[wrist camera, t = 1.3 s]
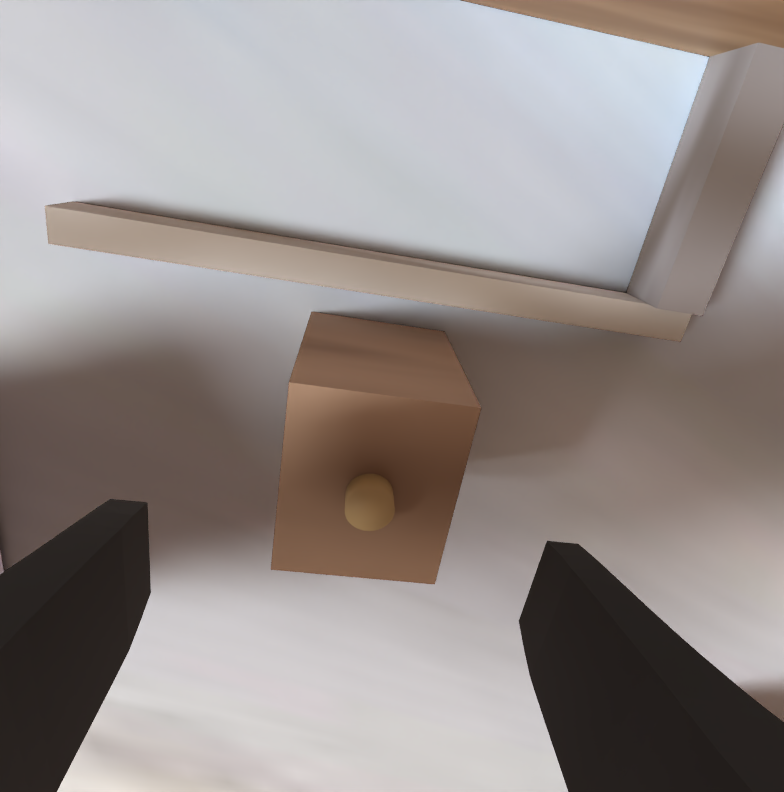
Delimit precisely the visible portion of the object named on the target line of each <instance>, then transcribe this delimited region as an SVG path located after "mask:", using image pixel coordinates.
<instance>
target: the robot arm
mask: <svg viewBox="0 0 784 792" xmlns="http://www.w3.org/2000/svg"><path fill="white" fill-rule="evenodd" d="M150 593H151V589H150V561H149V534H148V507H147V503H146V502H135V501H125V500H114V499H110V500H108V501H107V502H105V503H104V504H102V505H101V506H99V507H98V508H96V509H95V510H93V511H92V512H90V513H89V514H88V515H86V516H85V517H83V518H82V519H80V520H79V521H78V522H76V523H75V524H73V525H72V526H70V527H69V528H67V529H66V530H65V531H63V532H62V533H60V534H59V535H57V536H56V537H55V538H53V539H52V540H50V541H49V542H47V543H46V544H44V545H43V546H41V547H40V548H39V549H37V550H36V551H34V552H33V553H31V554H30V555H28V556H27V557H25V558H24V559H22V560H21V561H19V562H18V563H16V564H15V565H13V566H12V567H10V568H9V569H7V570H6V571H4V570H3V564H2V558H1V552H0V792H57V790H58V788H59V786H60V784H61V782H62V780H63V778H64V776H65V775H66V773H67V771H68V769H69V767H70V765H71V763H72V761H73V759H74V757H75V755H76V753H77V751H78V749H79V747H80V745H81V744H82V742H83V740H84V738H85V736H86V734H87V732H88V730H89V728H90V726H91V724H92V722H93V720H94V718H95V716H96V714H97V712H98V711H99V709H100V707H101V705H102V703H103V701H104V699H105V697H106V695H107V693H108V691H109V689H110V687H111V685H112V683H113V681H114V679H115V677H116V675H117V673H118V671H119V669H120V667H121V665H122V663H123V661H124V659H125V657H126V655H127V653H128V651H129V649H130V647H131V644H132V641H133V639H134V636H135V634H136V631H137V628H138V626H139V623H140V621H141V618H142V615H143V612H144V610H145V607H146V604H147V601H148V599H149V596H150ZM519 624H520V629H521V635H522V640H523V645H524V651H525V655H526V660H527V664H528V669H529V673H530V677H531V681H532V684H533V687H534V690H535V693H536V696H537V699H538V702H539V705H540V708H541V711H542V714H543V717H544V720H545V724H546V726H547V729H548V732H549V735H550V738H551V741H552V744H553V747H554V750H555V753H556V756H557V759H558V762H559V765H560V768H561V771H562V774H563V777H564V780H565V783H566V786H567V789H568V792H784V722H783V721H781V720H780V719H779V718H777V717H776V716H775V715H773V714H772V713H771V712H770V711H768V710H767V709H766V708H764V707H763V706H762V705H761V704H759V703H758V702H757V701H756V700H754V699H753V698H752V697H751V696H749V695H748V694H747V693H746V692H744V691H743V690H742V689H741V688H740V687H738V686H737V685H736V684H735V683H734V682H732V681H731V680H730V679H729V678H728V677H726V676H725V675H724V674H723V673H722V672H721V671H719V670H718V669H717V668H716V667H715V666H713V665H712V664H711V663H710V662H709V661H707V660H706V659H705V658H704V657H703V656H702V655H700V654H699V653H698V652H697V651H696V650H695V649H694V648H692V647H691V646H690V645H689V644H688V643H687V642H686V641H684V640H683V639H682V638H681V637H680V636H679V635H678V634H677V633H676V632H674V631H673V630H672V629H671V628H670V627H669V626H668V625H667V624H666V623H664V622H663V621H662V620H661V619H660V618H659V617H658V616H657V615H656V614H655V613H654V612H652V611H651V610H650V609H649V608H648V607H647V606H646V605H645V604H644V603H643V602H642V601H641V600H639V599H638V598H637V597H636V596H635V595H634V594H633V593H632V592H631V591H630V590H629V589H628V588H627V587H625V586H624V585H623V584H622V583H621V582H620V581H619V580H618V579H617V578H616V577H615V576H614V575H613V574H612V573H610V572H609V571H608V570H607V569H606V568H605V567H604V566H603V565H602V564H601V563H600V562H598V561H597V560H596V559H595V558H594V557H593V556H592V555H591V554H589V553H588V552H587V551H586V550H585V549H584V548H582V547H581V546H580V545H579V544H573V543H563V542H552V541H547V543H546V545H545V548H544V551H543V554H542V557H541V560H540V563H539V565H538V568H537V571H536V574H535V577H534V580H533V582H532V585H531V588H530V591H529V594H528V597H527V599H526V602H525V605H524V608H523V611H522V614H521V617H520V619H519Z"/></svg>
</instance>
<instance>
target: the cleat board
mask: <svg viewBox="0 0 784 792" xmlns="http://www.w3.org/2000/svg"><path fill="white" fill-rule="evenodd" d="M462 1H467V2H471V3H476V4H480V5H484V6H489V7H493V8H498V9H502V10H506V11H511V12H515V13H520V14H524V15H528V16H533V17H537V18H542V19H546V20H550V21H555V22H559V23H564V24H568V25H572V26H577V27H581V28H586V29H590V30H594V31H599V32H603V33H608V34H612V35H616V36H621V37H625V38H630V39H634V40H638V41H643V42H647V43H652V44H656V45H660V46H665V47H669V48H674V49H678V50H682V51H687V52H691V53H696V54H700V55H704V56H709V60H708V63H707V66H706V68H705V71H704V74H703V77H702V80H701V83H700V85H699V88H698V91H697V94H696V97H695V100H694V102H693V105H692V108H691V111H690V114H689V116H688V119H687V122H686V125H685V128H684V131H683V133H682V136H681V139H680V142H679V145H678V148H677V150H676V153H675V156H674V159H673V162H672V164H671V167H670V170H669V173H668V176H667V179H666V181H665V184H664V187H663V190H662V193H661V196H660V198H659V201H658V204H657V207H656V210H655V212H654V215H653V218H652V221H651V224H650V227H649V229H648V232H647V235H646V238H645V241H644V244H643V246H642V249H641V252H640V255H639V258H638V261H637V263H636V266H635V269H634V272H633V275H632V277H631V280H630V283H629V286H628V289H627V292H626V293H624V292H617V291H611V290H605V289H599V288H593V287H587V286H581V285H575V284H569V283H563V282H557V281H551V280H545V279H539V278H533V277H527V276H521V275H515V274H508V273H502V272H496V271H490V270H484V269H478V268H472V267H466V266H460V265H454V264H448V263H442V262H436V261H430V260H424V259H418V258H412V257H406V256H399V255H393V254H387V253H381V252H375V251H369V250H363V249H357V248H351V247H345V246H339V245H333V244H327V243H321V242H315V241H309V240H303V239H296V238H290V237H284V236H278V235H272V234H266V233H260V232H254V231H248V230H242V229H236V228H230V227H224V226H218V225H212V224H206V223H200V222H194V221H187V220H181V219H175V218H169V217H163V216H157V215H151V214H145V213H139V212H133V211H127V210H121V209H115V208H109V207H103V206H97V205H91V204H85V203H78V202H67V203H60V204H53V205H47V206H45V213H46V224H47V235H48V244H54V245H60V246H67V247H73V248H79V249H86V250H92V251H99V252H105V253H112V254H118V255H124V256H131V257H137V258H144V259H150V260H157V261H163V262H170V263H176V264H182V265H189V266H195V267H202V268H208V269H215V270H221V271H227V272H234V273H240V274H247V275H253V276H260V277H266V278H273V279H279V280H285V281H292V282H298V283H305V284H311V285H318V286H324V287H331V288H337V289H343V290H350V291H356V292H363V293H369V294H376V295H382V296H388V297H395V298H401V299H408V300H414V301H421V302H427V303H434V304H440V305H446V306H453V307H459V308H466V309H472V310H479V311H485V312H492V313H498V314H504V315H511V316H517V317H524V318H530V319H537V320H543V321H549V322H556V323H562V324H569V325H575V326H582V327H588V328H595V329H601V330H607V331H614V332H620V333H627V334H633V335H640V336H646V337H653V338H659V339H665V340H672V341H678V342H681V340H682V337H683V335H684V332H685V330H686V328H687V325H688V323H689V320H690V318H691V315H692V314H693V315H699V316H703V314H704V312H705V309H706V307H707V305H708V302H709V300H710V297H711V295H712V293H713V290H714V288H715V286H716V283H717V281H718V278H719V276H720V274H721V271H722V269H723V267H724V264H725V262H726V259H727V257H728V255H729V252H730V250H731V248H732V245H733V243H734V240H735V238H736V236H737V233H738V231H739V229H740V226H741V224H742V221H743V219H744V217H745V214H746V212H747V210H748V207H749V205H750V203H751V200H752V198H753V195H754V193H755V191H756V188H757V186H758V184H759V181H760V179H761V176H762V174H763V172H764V169H765V167H766V165H767V162H768V160H769V157H770V155H771V153H772V150H773V148H774V146H775V143H776V141H777V138H778V136H779V134H780V131H781V129H782V127H783V124H784V0H462Z"/></svg>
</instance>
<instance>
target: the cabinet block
mask: <svg viewBox="0 0 784 792" xmlns="http://www.w3.org/2000/svg"><path fill="white" fill-rule="evenodd" d="M480 411H481V406H480V404H479V402H478V400H477V398H476V396H475V394H474V392H473V390H472V387H471V385H470V383H469V381H468V379H467V377H466V375H465V373H464V371H463V369H462V367H461V365H460V363H459V360H458V358H457V356H456V354H455V352H454V350H453V348H452V346H451V344H450V342H449V340H448V338H447V336H446V333H445V331H438V330H431V329H425V328H418V327H411V326H404V325H398V324H391V323H384V322H378V321H371V320H364V319H358V318H351V317H344V316H337V315H331V314H324V313H317V312H311V315H310V318H309V321H308V324H307V328H306V331H305V334H304V337H303V340H302V343H301V346H300V349H299V353H298V356H297V359H296V362H295V365H294V368H293V371H292V374H291V378H290V381H289V387H288V397H287V408H286V418H285V428H284V438H283V449H282V459H281V469H280V480H279V490H278V500H277V511H276V521H275V531H274V541H273V552H272V562H271V570H282V571H293V572H304V573H315V574H326V575H338V576H349V577H360V578H371V579H382V580H393V581H404V582H415V583H426V584H435V581H436V577H437V573H438V569H439V566H440V562H441V558H442V554H443V551H444V547H445V543H446V539H447V535H448V532H449V528H450V524H451V520H452V517H453V513H454V509H455V505H456V502H457V498H458V494H459V490H460V486H461V483H462V479H463V475H464V471H465V468H466V464H467V460H468V456H469V452H470V449H471V445H472V441H473V437H474V434H475V430H476V426H477V422H478V418H479V415H480Z"/></svg>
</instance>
